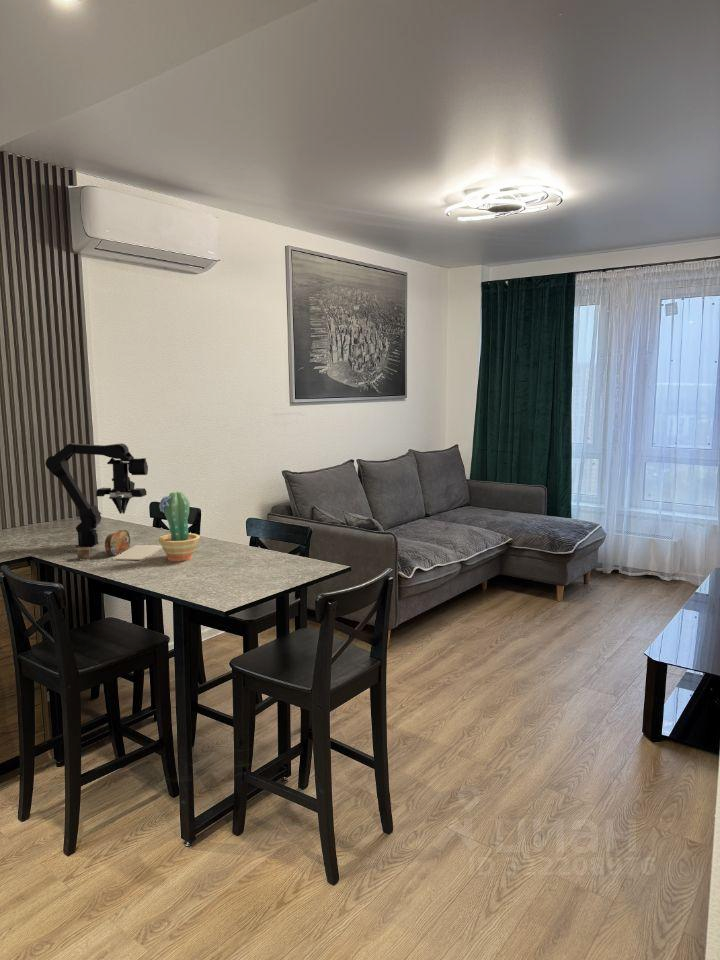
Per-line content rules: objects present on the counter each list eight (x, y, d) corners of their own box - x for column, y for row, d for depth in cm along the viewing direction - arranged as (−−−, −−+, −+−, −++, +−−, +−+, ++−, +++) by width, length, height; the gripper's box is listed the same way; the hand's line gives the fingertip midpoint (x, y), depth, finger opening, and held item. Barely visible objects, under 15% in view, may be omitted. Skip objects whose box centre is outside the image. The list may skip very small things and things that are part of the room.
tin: (111, 558, 247) (110, 536, 246) (103, 557, 248) (102, 535, 247) (131, 548, 262) (130, 528, 261) (123, 548, 262) (122, 527, 261)
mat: (111, 560, 244) (111, 558, 244) (135, 546, 266) (135, 545, 265) (143, 560, 243) (143, 559, 243) (165, 547, 265) (165, 545, 265)
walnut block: (77, 560, 243) (77, 550, 243) (79, 558, 247) (78, 547, 246) (89, 560, 244) (89, 549, 244) (90, 557, 248) (90, 547, 247)
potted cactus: (167, 552, 255) (164, 489, 252) (206, 553, 254) (204, 489, 251) (152, 563, 240) (149, 495, 237) (194, 563, 239) (192, 495, 236)
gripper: (151, 473, 272) (152, 510, 274) (107, 472, 273) (108, 509, 275) (140, 476, 261) (141, 515, 263) (94, 475, 262) (96, 514, 264)
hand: (122, 513), depth 266 cm, fingers closed
